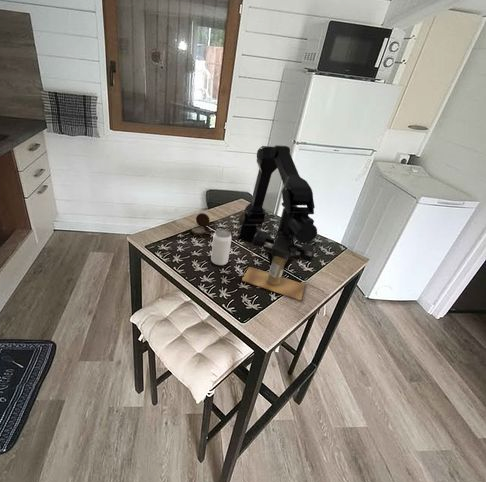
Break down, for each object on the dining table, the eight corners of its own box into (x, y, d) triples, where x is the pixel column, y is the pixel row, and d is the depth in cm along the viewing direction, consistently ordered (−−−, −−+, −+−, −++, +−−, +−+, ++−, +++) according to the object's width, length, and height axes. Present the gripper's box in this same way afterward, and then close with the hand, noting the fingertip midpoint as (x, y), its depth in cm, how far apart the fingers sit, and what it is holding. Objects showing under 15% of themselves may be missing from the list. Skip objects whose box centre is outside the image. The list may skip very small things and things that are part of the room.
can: (230, 258, 106) (234, 230, 100) (225, 267, 100) (229, 239, 94) (213, 254, 107) (217, 226, 101) (208, 263, 102) (211, 234, 96)
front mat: (241, 280, 95) (241, 279, 95) (249, 267, 102) (249, 266, 102) (300, 301, 89) (301, 300, 89) (304, 285, 96) (304, 284, 96)
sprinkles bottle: (281, 285, 95) (292, 252, 87) (269, 286, 93) (279, 253, 86) (276, 276, 98) (286, 244, 91) (264, 277, 97) (273, 245, 90)
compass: (188, 233, 119) (189, 217, 115) (196, 225, 125) (197, 211, 122) (205, 238, 117) (207, 222, 113) (213, 230, 123) (214, 215, 119)
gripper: (251, 227, 80) (243, 270, 89) (318, 246, 75) (302, 290, 83) (261, 213, 89) (252, 254, 97) (321, 229, 84) (307, 270, 92)
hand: (277, 266), depth 92 cm, fingers closed on sprinkles bottle, 4 cm apart
